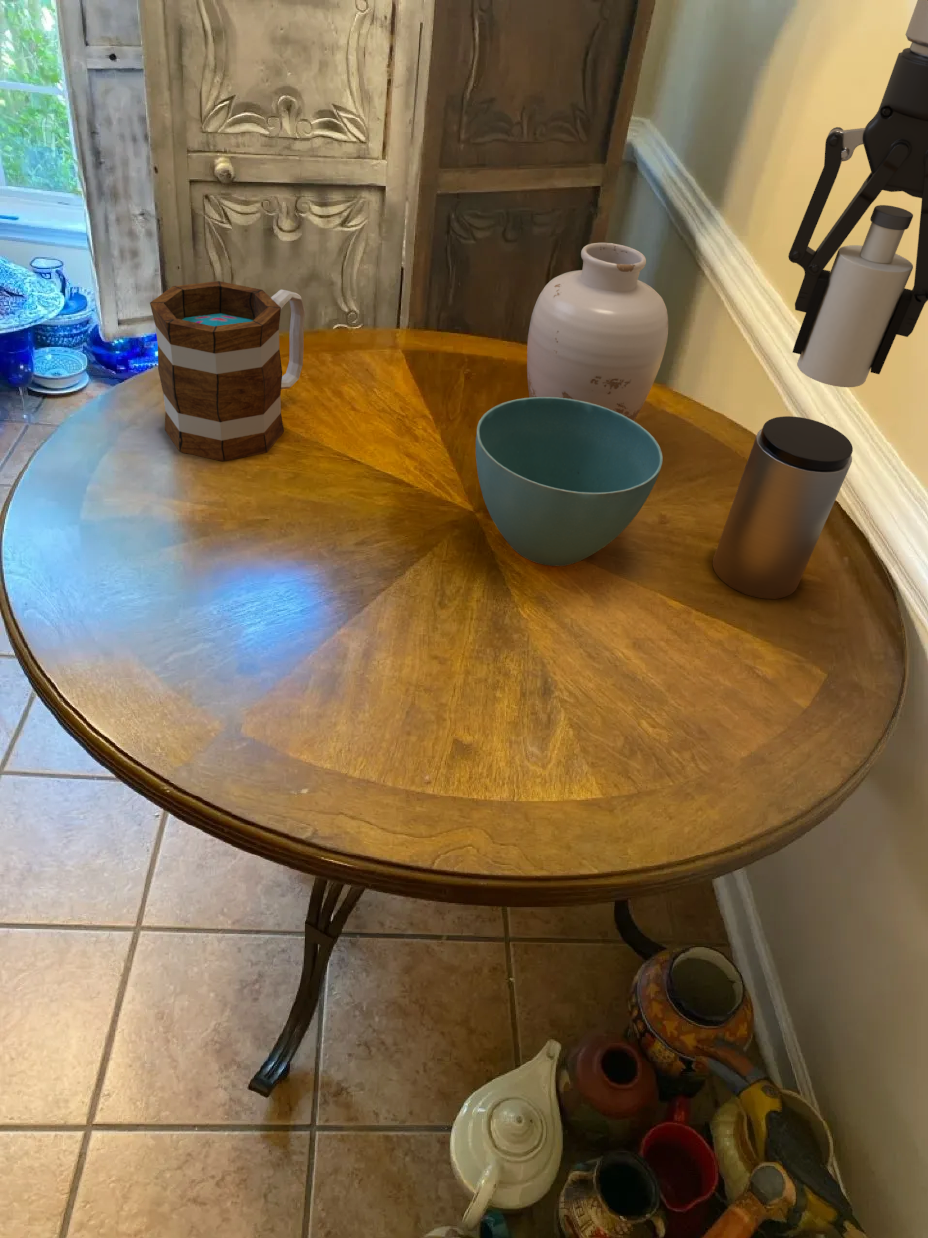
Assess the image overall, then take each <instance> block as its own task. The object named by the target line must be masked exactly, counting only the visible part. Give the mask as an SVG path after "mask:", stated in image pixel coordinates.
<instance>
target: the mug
mask: <svg viewBox="0 0 928 1238" xmlns="http://www.w3.org/2000/svg"><path fill="white" fill-rule="evenodd" d="M288 302H289V306H290V319H289V333H288V335H289V339H288V340H289V341H288V342H289V343H288V344H289V358H288V360H289V361H288V364H287V368H286V372H285V373H284V374H283V366H282V360H281V358H282V357H281V352H280V321H281V312H282V311H283V308H284V306H285V305H286V304H287V303H288ZM149 305H150V309H151V314H152V318H153V321H154V325H155V333H156V341H157V342H156V343H157V368H158V369H157V370H158V375H159V379H160V384H161V389H162V395H163V402H164V403H163V405H164V431H165V432H166V434H167V436H168V437H169V438H170V440H171V442H172V443H173V444H174V446H175V447H176V449H177V450H178V451H179V452H180V453H184V454H189V455H193V456H198V457H202V458H207V459H211V460H216V461H220V462H226V461H232V460H237V459H241V458H247V457H250V456H251V457H252V456H256V455H262V454H266V453H268V452H269V451H270V449H271V448H272V447H273V446H274V444H275V443H276V442H277V441H278V440H279V438H281V436H282V435H283V434H284V432H285V430H284V429H285V428H284V423H283V422H284V421H283V417H282V403H281V402H282V400H281V398H282V397H281V393H282V392H281V391H282V390H287V389H288V390H289V389H290V388H291V387H293V386H294V385H295V384H296V382H297V381H299V379H300V376H301V372H302V370H303V366H304V333H305V332H304V331H305V318H306V317H305V316H306V310H305V306H304V303H303V299H302V296H301V295H300V294H299V293H297V292H295V291H290V290H288V289H287V290H286V289H279V290H278V291H277V292H275V293H274V294H272V296H269V294H267V292H265V290H263V289H260V288H255V287H251V286H246V285H240V284H236V283H231V282H226V281H220V280H216V281H208V282H199V283H188V284H180V285H172V286H171V287H169V288H168V289H167V290H165V291H164V292H163V293H161V294H160V295H159V296H157V297H155V298H154V299H153V300H151V301H150V302H149Z"/></svg>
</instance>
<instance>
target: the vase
mask: <svg viewBox="0 0 928 1238" xmlns="http://www.w3.org/2000/svg"><path fill="white" fill-rule="evenodd" d="M580 251H581V252H580V257H581V260H582V263H583V264H582V269H578V270H572V271H567V272H564V273H561V274H560V275H557V276H555V277H553V278H552V279H551V280H549V282H548V283H546V285H545V286H544V288H542V290H541V292H540V294H539V295H538V297H537V299H536V302H535V305H534V306H533V309H532V313H531V316H530V322H529V326H528V327H529V328H528V335H527V349H526V368H527V369H526V372H527V374H526V376H527V377H526V378H527V389H528V396H529V397H528V398H530V397H558V398H567V399H573V400H579V401H584V402H589V403H592V404H596V405H599V406H602V407H605V408H608V409H610V410H613V411H615V412H618V413H620V414H622V415H624V416H626V417H628V418H629V419H631V420H633V421H635V420H636V418H637V416H638V415H639V414H640V412H641V410H642V408H643V406H644V404H645V402H646V400H647V398H648V396H649V394H650V392H651V390H652V388H653V385H654V382H655V380H656V378H657V376H658V373H659V370H660V368H661V365H662V362H663V359H664V355H665V351H666V347H667V344H668V343H667V342H668V334H669V315H668V310H667V306H666V304H665V301H664V299H663V297H662V296H661V295H660V294H659V293H658V292H657V291H656V290H655V289H654V288H653V287H651V286H650V285H649V284H647V283H646V282H644V281H641V280H640V279H639V276H640V272H641V271H642V270H643V269H644V268H645V267H646V264H647V258H646V256H645V255H644V254H643V253H642V252H641V251H639V250H637V249H635V248H632V247H630V246H627V245H622V244H619V243H612V242H593V243H588V244H586V245H585V246H583V248H582V249H581V250H580Z"/></svg>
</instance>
